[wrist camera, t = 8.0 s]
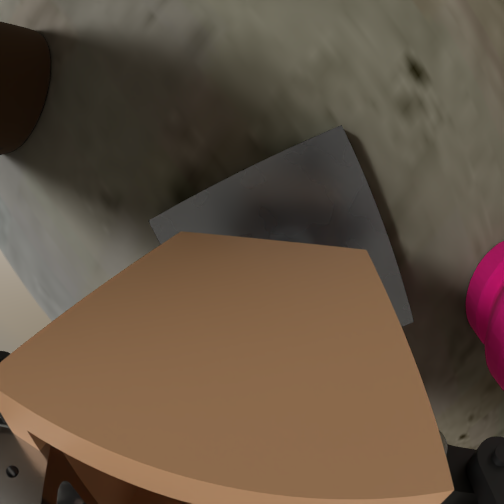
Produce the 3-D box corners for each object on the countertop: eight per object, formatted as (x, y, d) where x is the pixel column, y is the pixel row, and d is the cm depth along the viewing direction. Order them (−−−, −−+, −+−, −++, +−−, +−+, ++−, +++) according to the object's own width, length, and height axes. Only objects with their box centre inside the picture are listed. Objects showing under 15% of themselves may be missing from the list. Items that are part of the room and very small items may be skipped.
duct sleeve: (181, 231, 10) (-18, 377, 3) (366, 249, 9) (454, 489, 2) (188, 372, 12) (96, 533, 5) (334, 393, 11) (325, 587, 4)
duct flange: (157, 216, 16) (68, 262, 9) (339, 126, 13) (364, 106, 6) (243, 367, 18) (210, 460, 12) (409, 312, 15) (449, 404, 8)
